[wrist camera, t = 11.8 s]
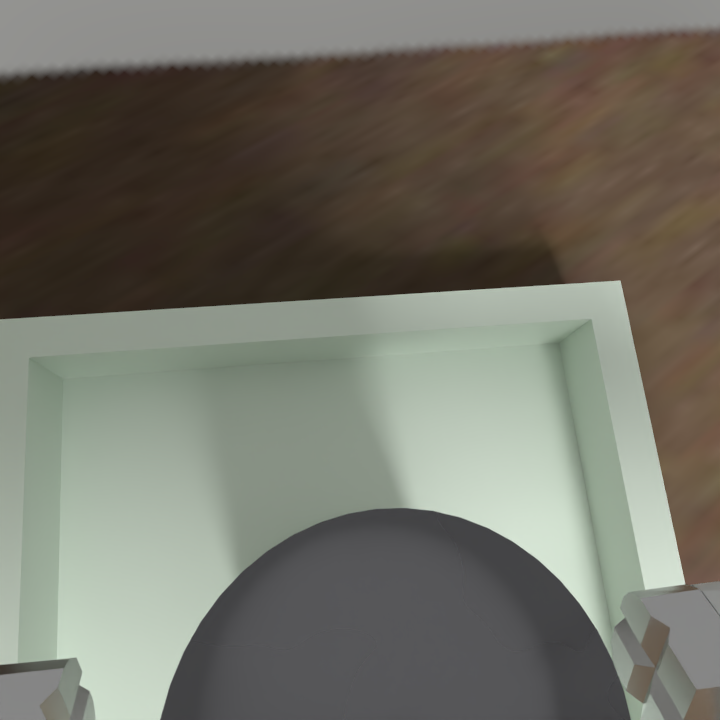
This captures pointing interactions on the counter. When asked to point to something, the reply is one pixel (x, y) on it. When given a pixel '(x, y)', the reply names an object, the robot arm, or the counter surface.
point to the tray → (308, 457)
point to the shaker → (396, 631)
